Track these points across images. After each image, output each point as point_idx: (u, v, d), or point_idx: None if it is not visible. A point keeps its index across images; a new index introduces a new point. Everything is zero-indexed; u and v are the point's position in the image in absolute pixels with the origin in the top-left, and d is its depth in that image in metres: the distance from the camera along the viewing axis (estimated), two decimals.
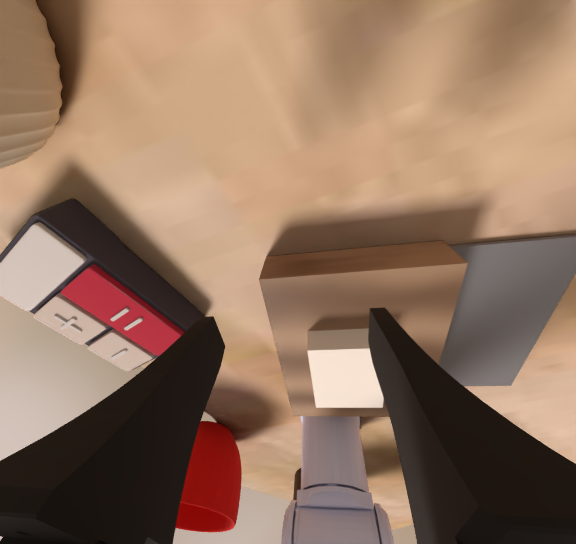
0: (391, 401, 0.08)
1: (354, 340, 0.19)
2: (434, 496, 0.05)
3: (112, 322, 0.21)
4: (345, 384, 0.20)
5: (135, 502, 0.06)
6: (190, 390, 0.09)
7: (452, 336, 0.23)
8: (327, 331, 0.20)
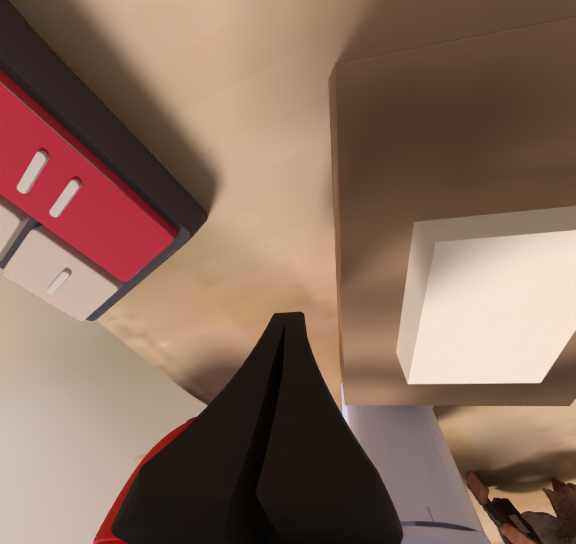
0: None
1: (536, 222, 0.08)
2: None
3: (26, 201, 0.11)
4: (488, 332, 0.10)
5: (264, 510, 0.06)
6: None
7: None
8: (459, 218, 0.10)
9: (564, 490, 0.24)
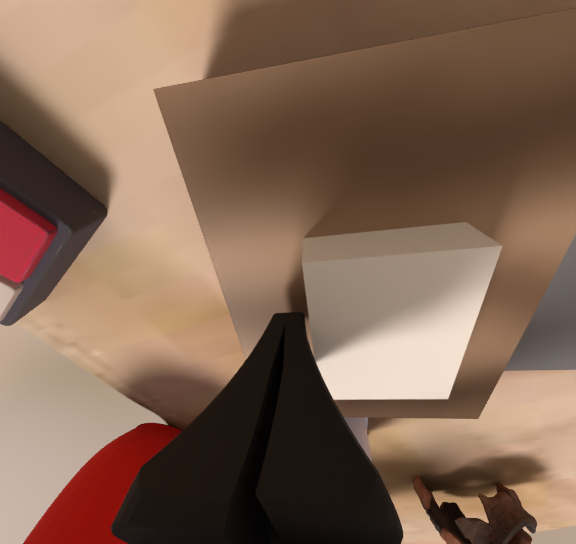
0: None
1: (408, 241, 0.08)
2: None
3: None
4: (382, 350, 0.10)
5: (264, 510, 0.06)
6: None
7: None
8: (345, 235, 0.09)
9: (498, 496, 0.24)
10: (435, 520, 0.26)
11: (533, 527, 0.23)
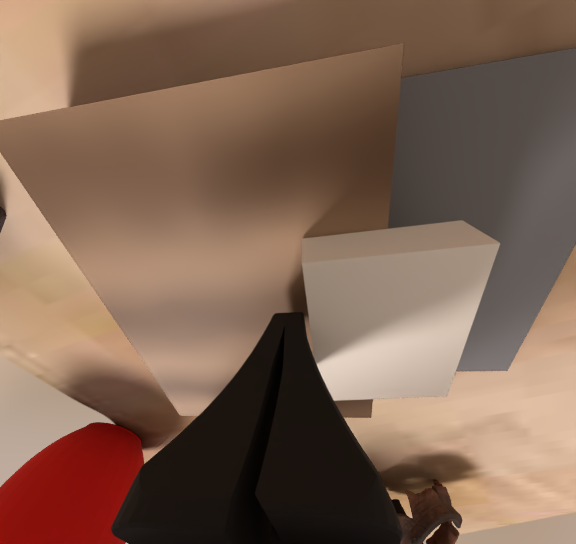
0: None
1: (407, 240, 0.08)
2: None
3: None
4: (382, 350, 0.10)
5: (264, 510, 0.06)
6: None
7: None
8: (344, 234, 0.09)
9: (425, 492, 0.25)
10: None
11: (457, 522, 0.24)
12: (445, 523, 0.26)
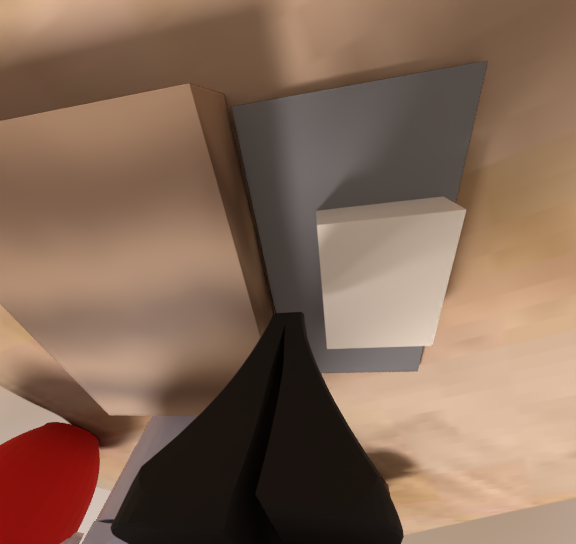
0: None
1: (367, 210, 0.11)
2: None
3: None
4: None
5: (264, 510, 0.06)
6: None
7: (306, 289, 0.15)
8: (421, 213, 0.10)
9: None
10: None
11: None
12: None
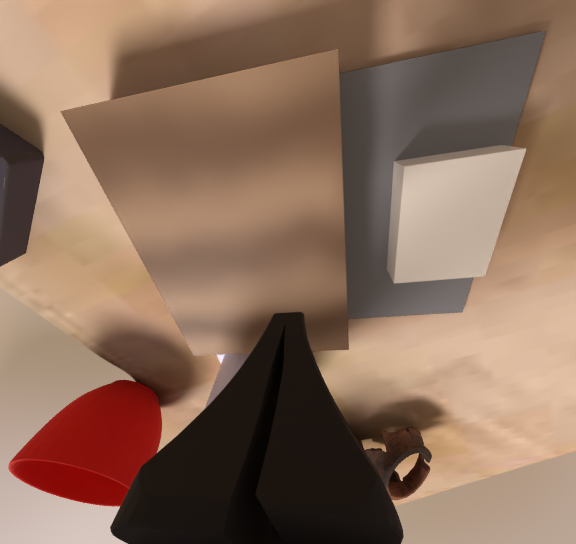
0: None
1: (440, 156, 0.14)
2: None
3: None
4: None
5: (264, 510, 0.06)
6: None
7: (375, 235, 0.18)
8: (489, 153, 0.13)
9: (398, 431, 0.28)
10: None
11: (426, 456, 0.28)
12: (418, 461, 0.30)
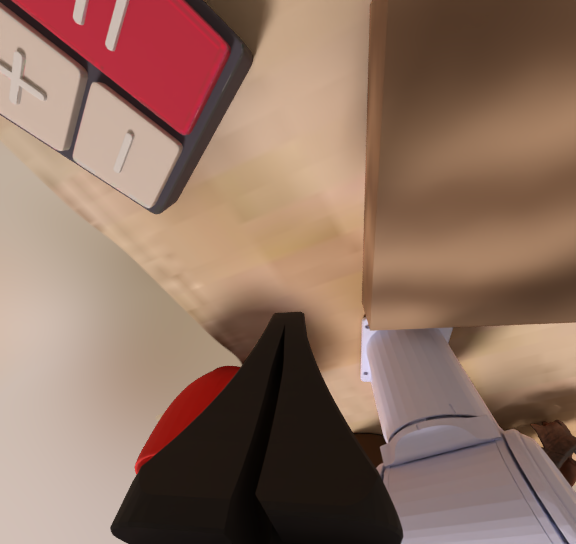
0: None
1: None
2: None
3: (83, 39, 0.11)
4: None
5: (264, 510, 0.06)
6: None
7: None
8: None
9: (551, 424, 0.25)
10: None
11: None
12: None
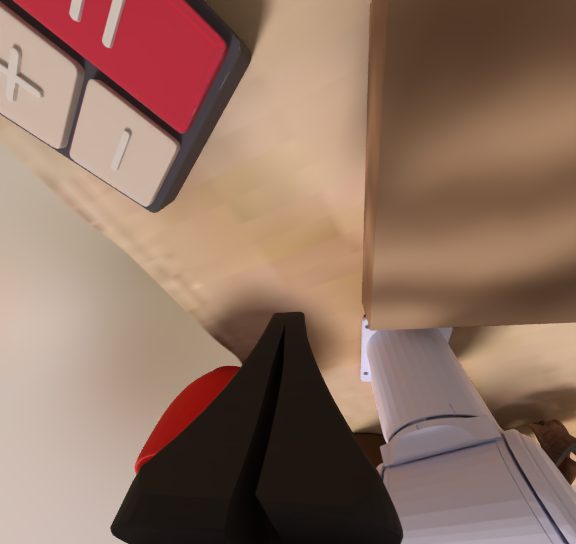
0: None
1: None
2: None
3: (79, 36, 0.11)
4: None
5: (264, 510, 0.06)
6: None
7: None
8: None
9: (548, 424, 0.25)
10: None
11: None
12: (562, 458, 0.27)
